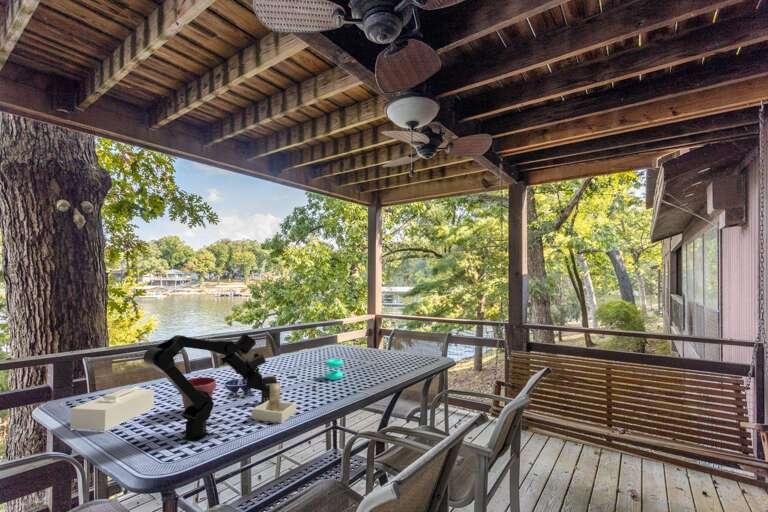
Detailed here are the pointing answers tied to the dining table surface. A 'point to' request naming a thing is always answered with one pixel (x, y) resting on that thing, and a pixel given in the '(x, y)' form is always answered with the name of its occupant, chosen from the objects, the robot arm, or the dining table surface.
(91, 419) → the tissue box
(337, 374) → the teal hourglass-shaped piece
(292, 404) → the tray
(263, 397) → the battery charger
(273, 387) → the pin
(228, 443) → the dining table surface
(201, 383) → the plant pot
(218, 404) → the dining table surface
